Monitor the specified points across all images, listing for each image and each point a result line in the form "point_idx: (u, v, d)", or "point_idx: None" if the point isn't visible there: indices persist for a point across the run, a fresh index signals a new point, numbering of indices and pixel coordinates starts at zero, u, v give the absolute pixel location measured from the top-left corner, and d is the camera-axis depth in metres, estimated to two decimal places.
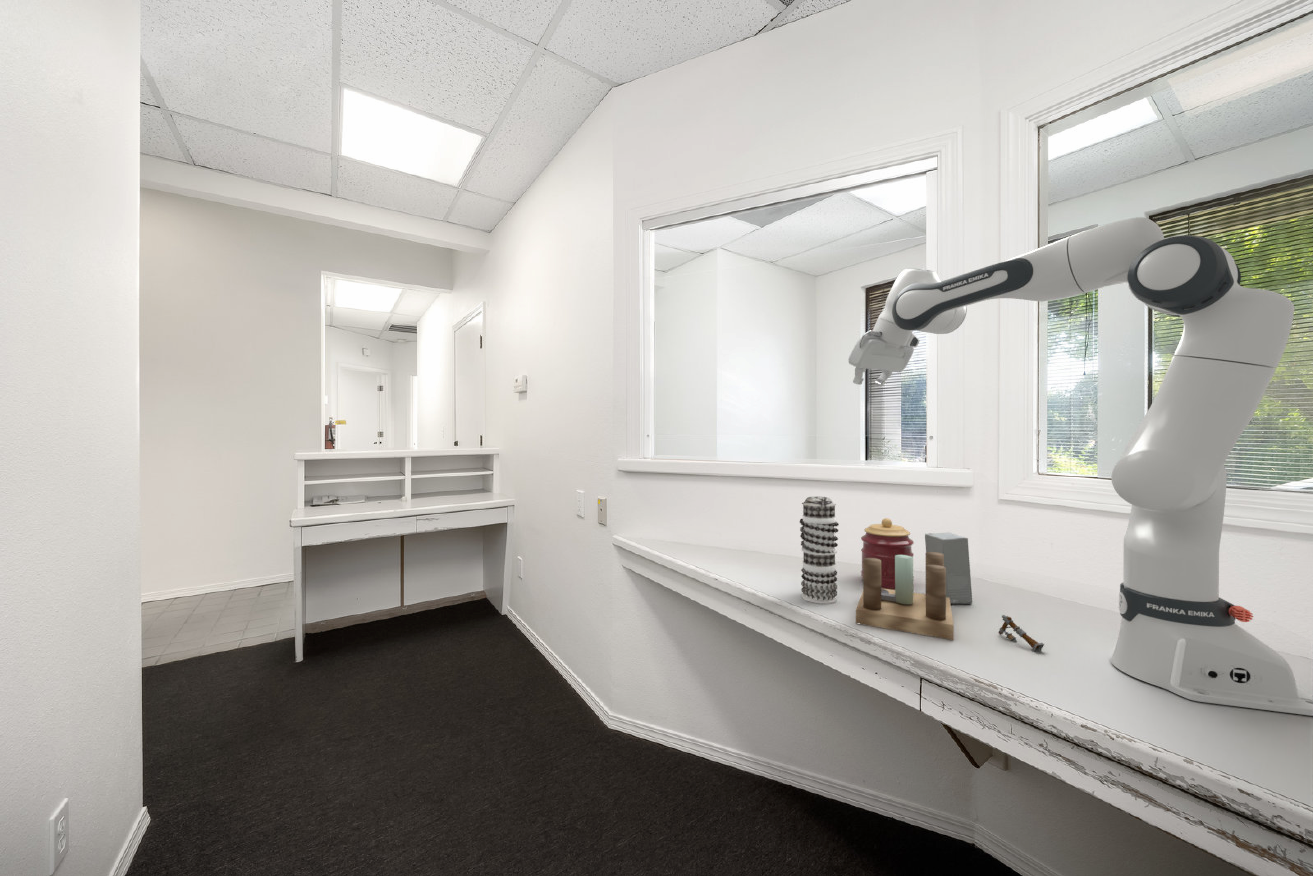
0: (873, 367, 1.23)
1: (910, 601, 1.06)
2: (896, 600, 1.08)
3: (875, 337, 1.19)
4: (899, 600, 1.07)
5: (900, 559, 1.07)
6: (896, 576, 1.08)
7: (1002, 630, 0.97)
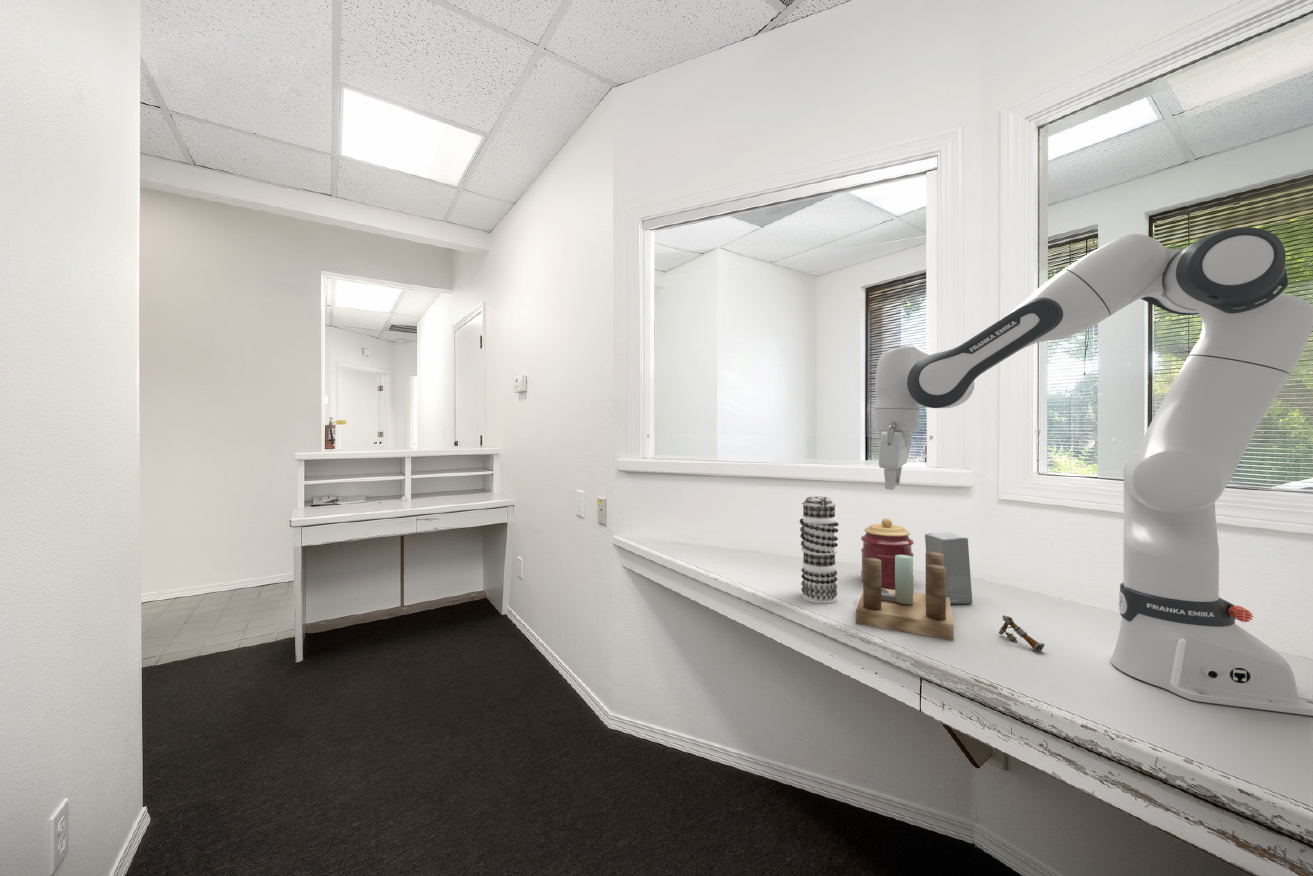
0: (901, 464, 1.00)
1: (910, 601, 1.06)
2: (896, 600, 1.08)
3: (894, 429, 0.99)
4: (899, 600, 1.07)
5: (900, 559, 1.07)
6: (896, 576, 1.08)
7: (1003, 630, 0.97)
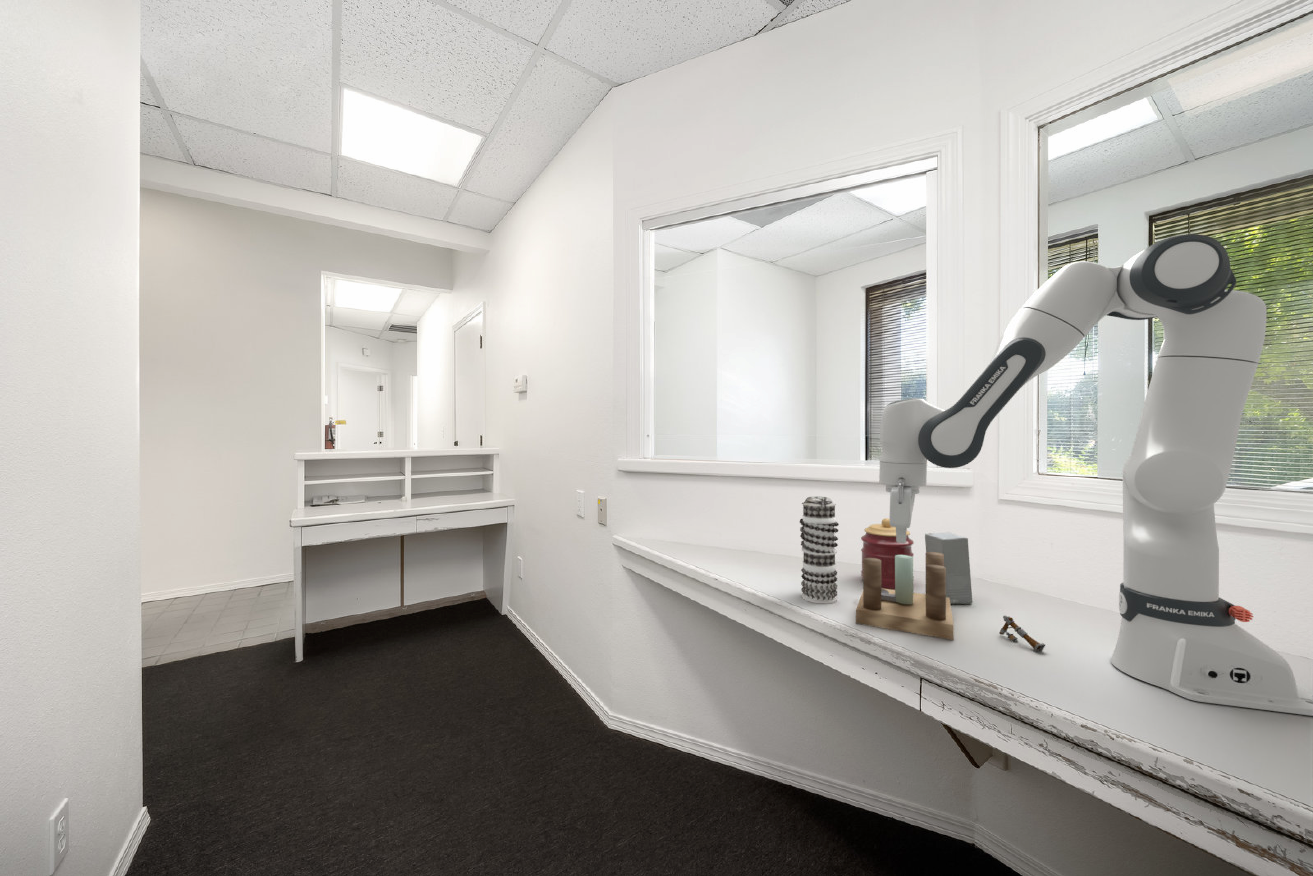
0: None
1: (910, 601, 1.06)
2: (896, 600, 1.08)
3: (903, 486, 0.96)
4: (899, 600, 1.07)
5: (900, 559, 1.07)
6: (896, 576, 1.08)
7: (1003, 630, 0.97)
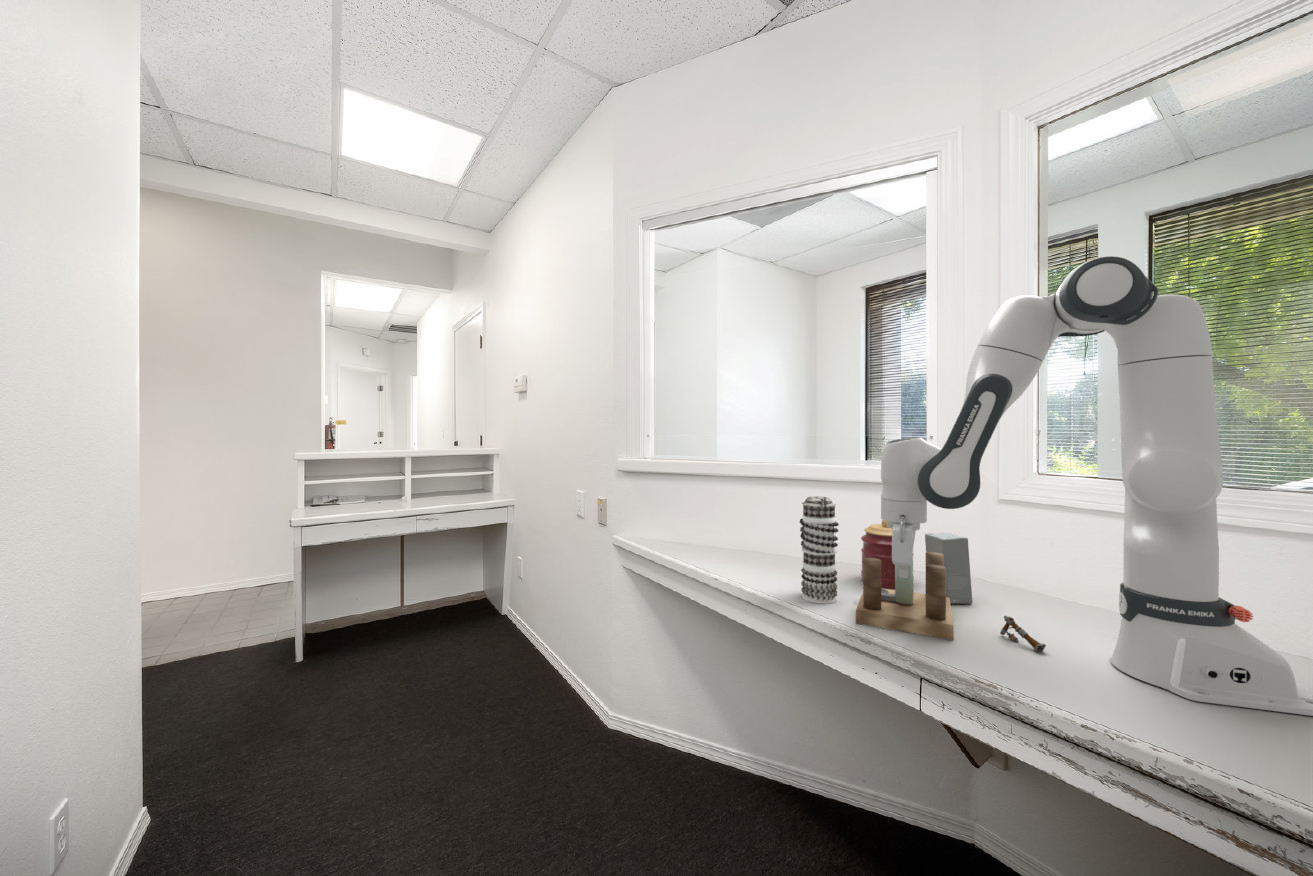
0: None
1: (910, 601, 1.06)
2: (896, 600, 1.08)
3: None
4: (899, 600, 1.07)
5: None
6: (896, 576, 1.08)
7: (1004, 631, 0.97)
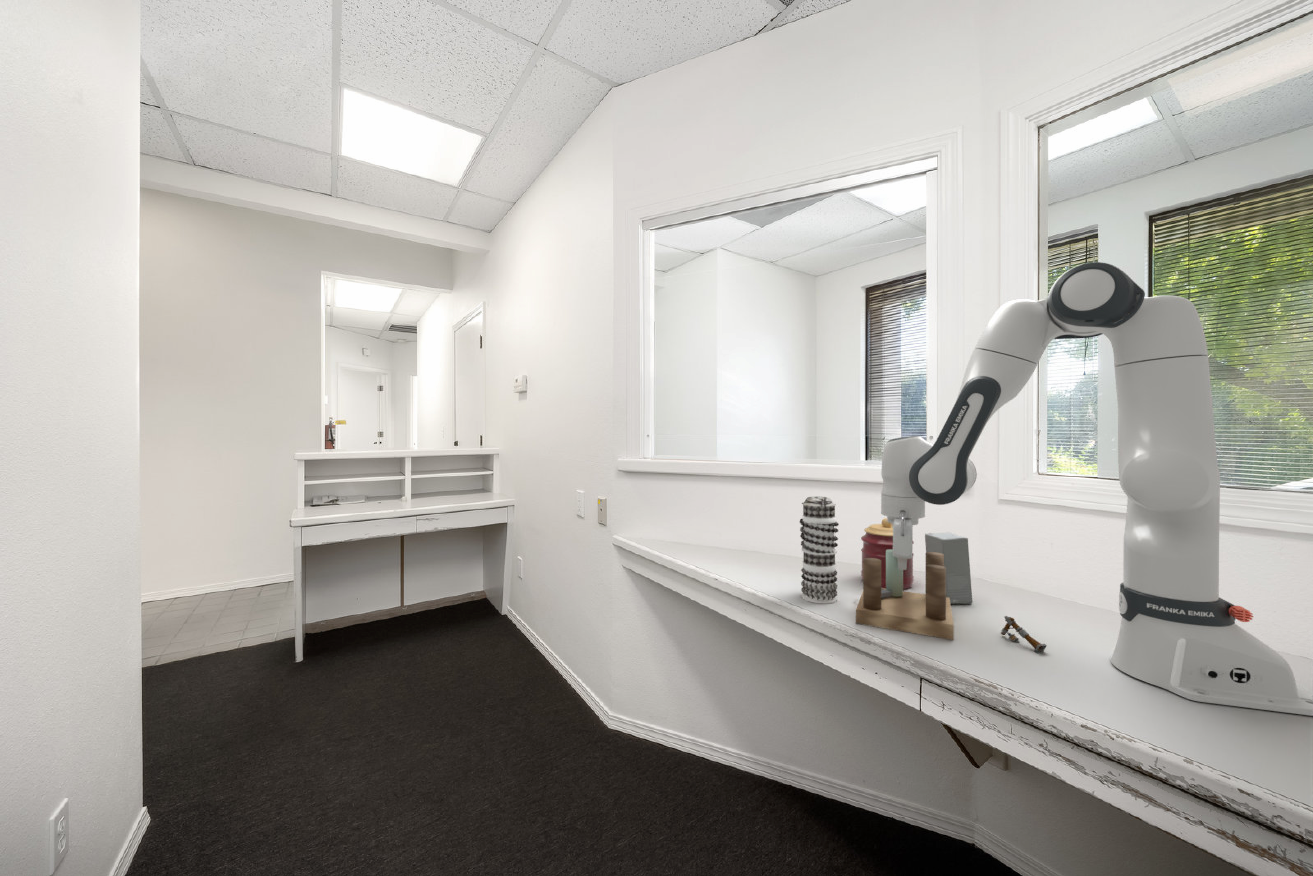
0: None
1: (902, 592, 1.13)
2: (893, 594, 1.12)
3: None
4: (897, 594, 1.11)
5: None
6: (893, 571, 1.12)
7: (1005, 631, 0.97)
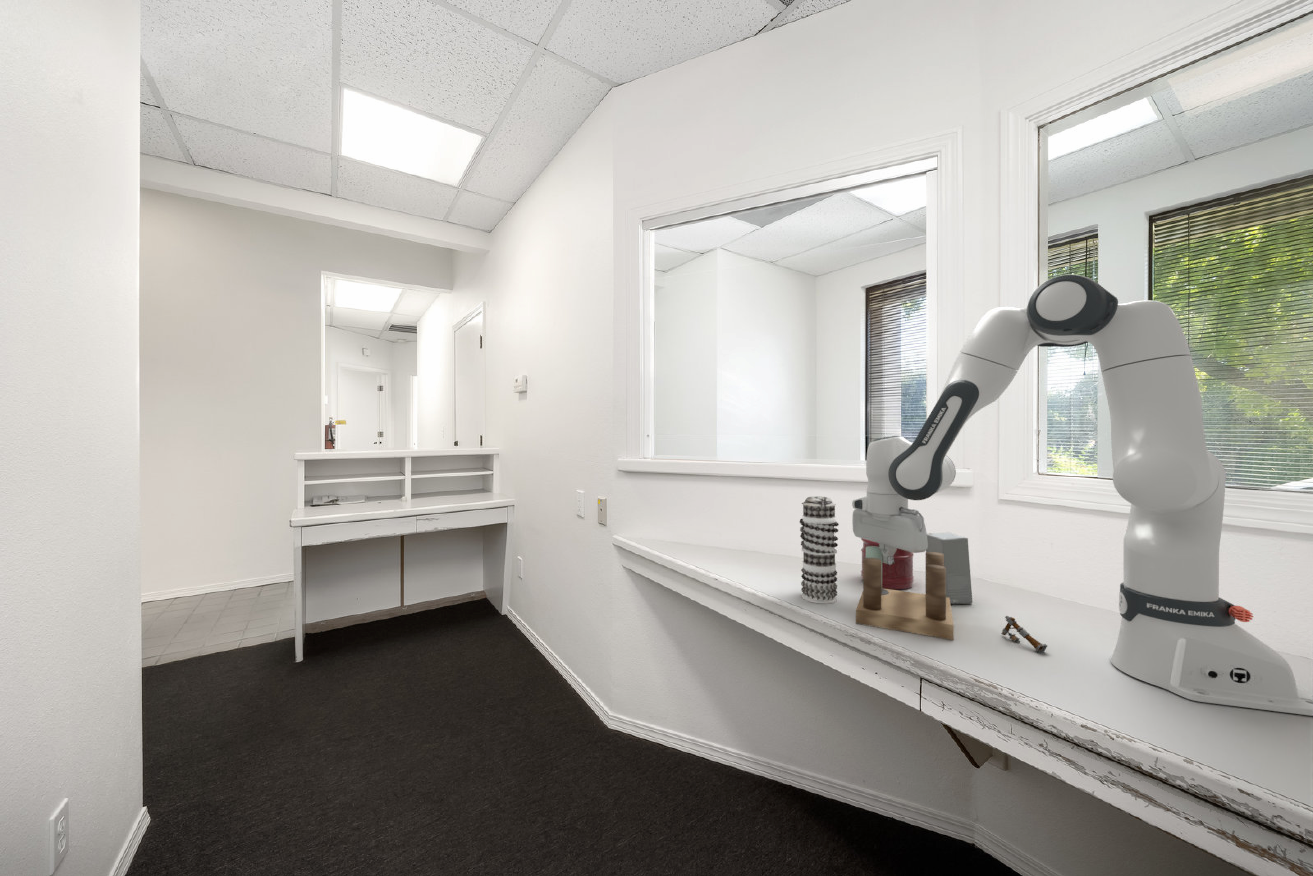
0: None
1: None
2: None
3: None
4: (881, 588, 1.15)
5: None
6: None
7: (1005, 631, 0.97)
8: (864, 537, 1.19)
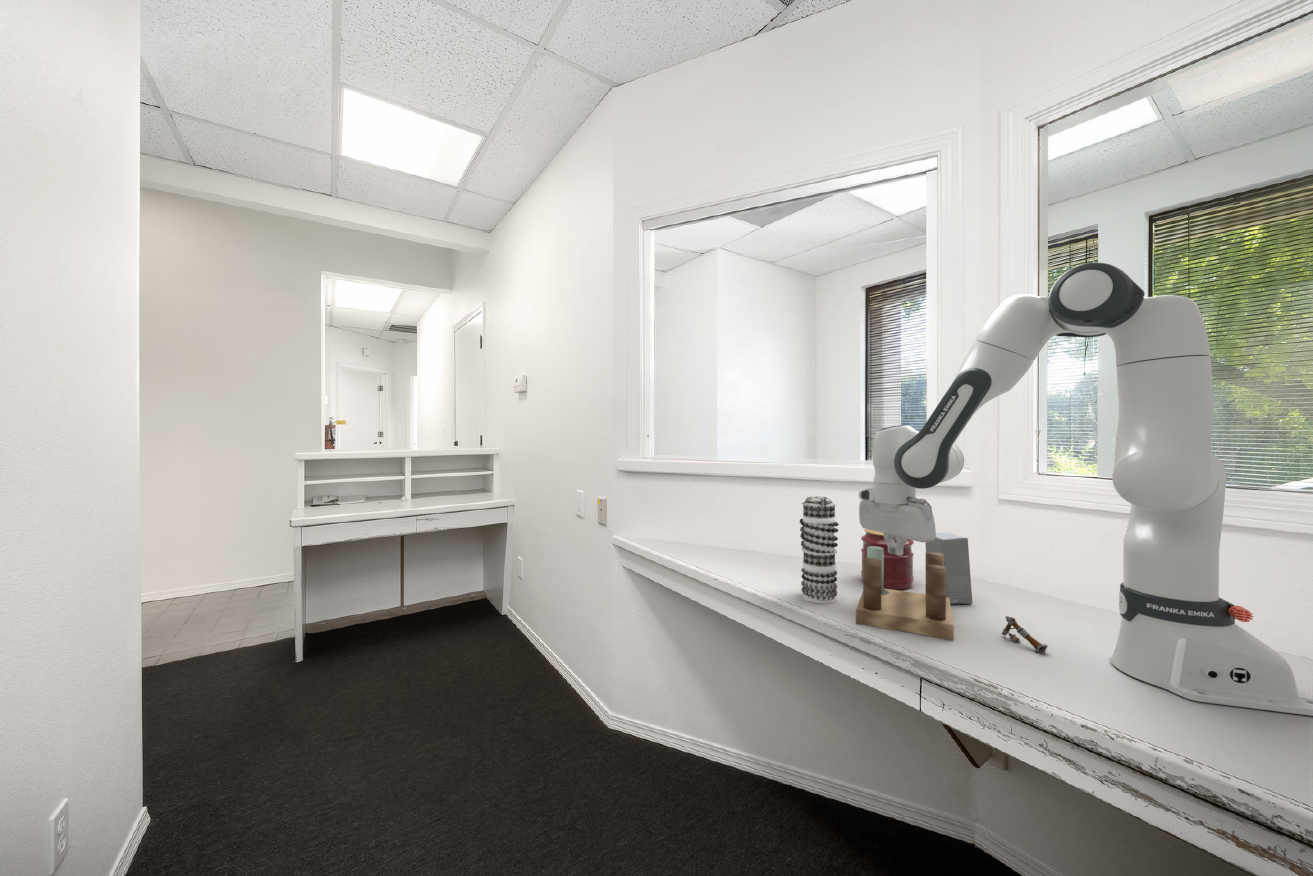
0: None
1: None
2: None
3: None
4: (882, 589, 1.15)
5: (882, 550, 1.15)
6: None
7: (1006, 631, 0.97)
8: (871, 528, 1.18)
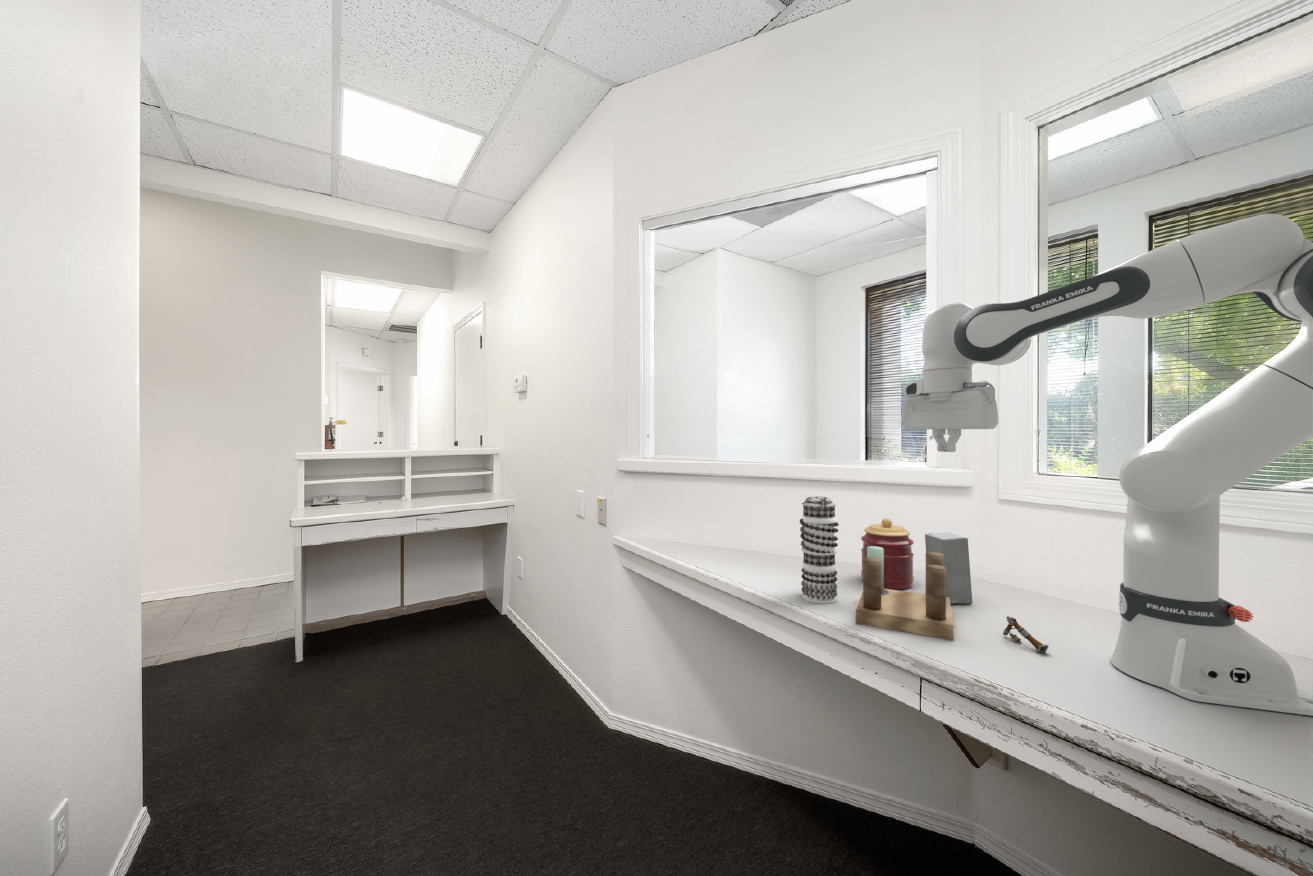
0: None
1: None
2: None
3: None
4: (882, 589, 1.15)
5: (882, 550, 1.15)
6: None
7: (1007, 631, 0.97)
8: (917, 427, 1.05)
